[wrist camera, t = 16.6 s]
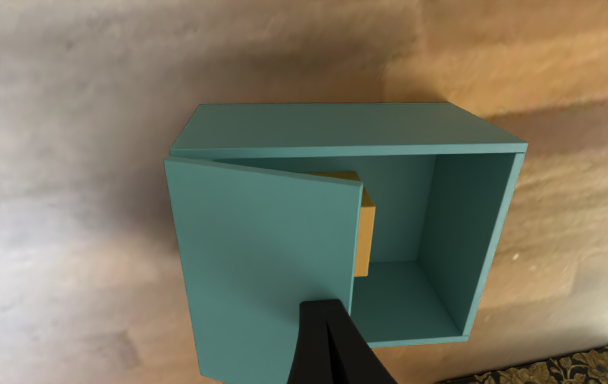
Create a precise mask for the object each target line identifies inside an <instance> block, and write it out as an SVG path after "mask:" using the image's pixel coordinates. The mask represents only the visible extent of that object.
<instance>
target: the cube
mask: <svg viewBox="0 0 608 384" xmlns="http://www.w3.org/2000/svg"><path fill="white" fill-rule="evenodd" d="M302 174H309V175H317V176H324V177H332V178H339V179H347V180H354V181H361V180H360V178H359V176H358V174H357V172H355V171H351V172H312V173H302ZM375 208H376V207H375V205H374V203H373V201H372V199H371V198H370V196H369V194H368V192H367V190H366V189H365V187H364V185H363V189H362V200H361V210H360V220H359V231H358V241H357V251H356V262H355V272H354V277H360V276H367V275H368V267H369V258H370V250H371V241H372V233H373V225H374V216H375Z"/></svg>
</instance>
